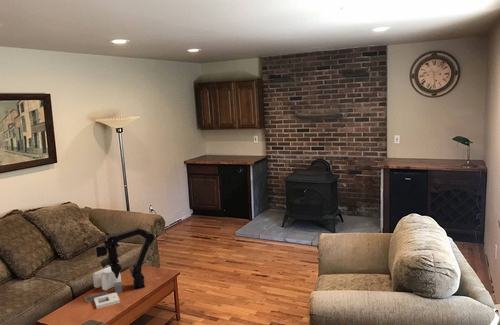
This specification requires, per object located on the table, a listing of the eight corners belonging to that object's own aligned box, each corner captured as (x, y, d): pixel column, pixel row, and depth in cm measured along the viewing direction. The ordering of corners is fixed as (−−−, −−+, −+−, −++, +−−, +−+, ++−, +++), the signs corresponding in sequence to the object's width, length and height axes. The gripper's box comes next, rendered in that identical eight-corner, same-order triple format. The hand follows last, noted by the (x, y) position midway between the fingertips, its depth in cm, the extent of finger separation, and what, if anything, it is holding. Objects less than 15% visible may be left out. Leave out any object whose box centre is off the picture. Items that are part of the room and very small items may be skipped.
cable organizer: (102, 292, 269) (100, 276, 267) (93, 288, 275) (91, 272, 273) (121, 284, 281) (120, 268, 279) (112, 280, 287) (110, 265, 285)
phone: (84, 298, 262) (84, 297, 262) (106, 293, 269) (106, 291, 268) (85, 303, 256) (85, 301, 256) (108, 297, 263) (108, 296, 262)
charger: (121, 289, 272) (120, 281, 271) (122, 292, 268) (121, 284, 267) (114, 291, 270) (113, 283, 269) (115, 294, 266) (114, 285, 265)
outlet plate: (116, 295, 264) (116, 292, 264) (120, 302, 254) (119, 299, 254) (94, 300, 258) (93, 297, 258) (96, 308, 247) (96, 305, 247)
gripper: (97, 252, 268) (100, 273, 271) (102, 261, 252) (105, 284, 255) (115, 248, 273) (117, 269, 276) (120, 257, 257) (123, 279, 260)
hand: (115, 275), depth 266 cm, fingers open, 9 cm apart
